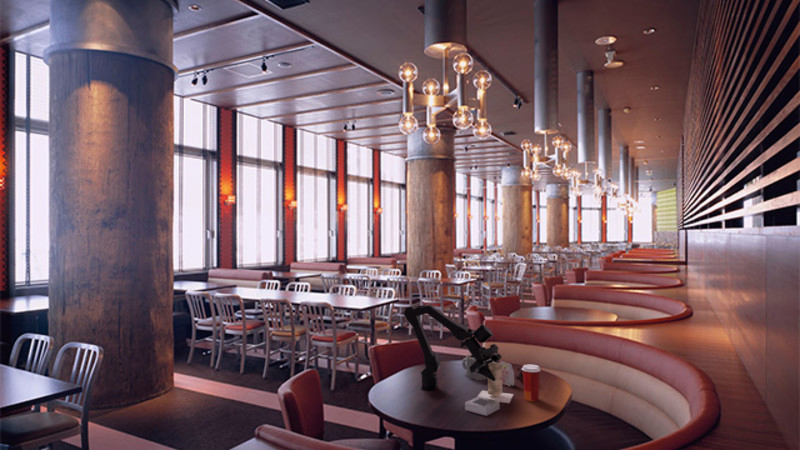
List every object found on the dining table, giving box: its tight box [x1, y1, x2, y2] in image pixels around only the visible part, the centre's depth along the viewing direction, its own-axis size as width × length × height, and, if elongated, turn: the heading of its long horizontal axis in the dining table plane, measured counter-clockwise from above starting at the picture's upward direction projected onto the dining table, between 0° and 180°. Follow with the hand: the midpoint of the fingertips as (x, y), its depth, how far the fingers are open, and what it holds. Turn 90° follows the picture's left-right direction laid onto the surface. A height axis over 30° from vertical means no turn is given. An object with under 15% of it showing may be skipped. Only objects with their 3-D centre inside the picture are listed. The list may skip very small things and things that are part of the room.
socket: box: [464, 395, 500, 417], centre depth 200 cm, size 10×10×3 cm
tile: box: [477, 390, 514, 404], centre depth 214 cm, size 14×10×1 cm
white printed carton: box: [499, 360, 515, 387], centre depth 232 cm, size 4×7×10 cm, turn 37°
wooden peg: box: [487, 362, 503, 396], centre depth 214 cm, size 4×4×13 cm
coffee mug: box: [461, 353, 488, 381], centre depth 245 cm, size 13×10×10 cm
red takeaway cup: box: [515, 366, 524, 382], centre depth 235 cm, size 7×7×15 cm
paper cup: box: [521, 364, 541, 402], centre depth 211 cm, size 8×8×14 cm
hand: (497, 379), depth 213 cm, fingers closed on wooden peg, 4 cm apart
